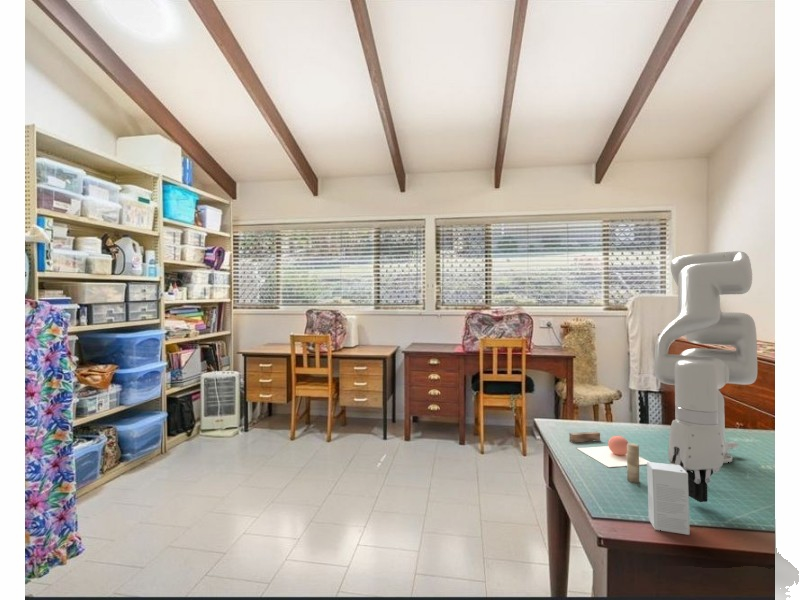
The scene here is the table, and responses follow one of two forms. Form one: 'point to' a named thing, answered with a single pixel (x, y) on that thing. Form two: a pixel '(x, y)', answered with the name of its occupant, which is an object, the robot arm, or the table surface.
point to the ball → (618, 445)
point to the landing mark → (608, 456)
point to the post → (633, 463)
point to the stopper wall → (584, 436)
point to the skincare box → (668, 497)
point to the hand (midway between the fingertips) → (697, 498)
